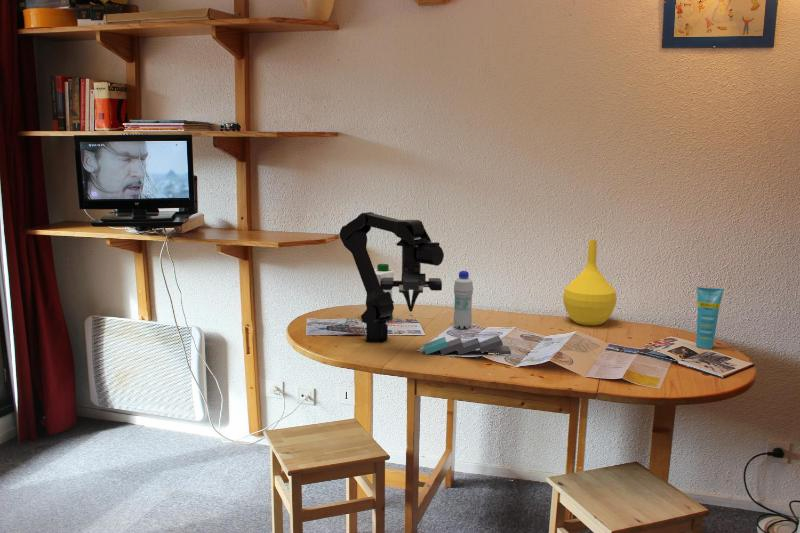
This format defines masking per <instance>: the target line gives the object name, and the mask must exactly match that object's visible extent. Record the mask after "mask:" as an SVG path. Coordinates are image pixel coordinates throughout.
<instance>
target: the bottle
mask: <svg viewBox="0 0 800 533" xmlns="http://www.w3.org/2000/svg"><path fill="white" fill-rule="evenodd" d="M469 275H470V274H469V271H467V270H461V271H459V272H458V278H455V280H454V284H453V294H454V312H453V325H454V327H455V328H456V329H459V328H460V329H461V330H463V329H464V328H465V329H466V330H467V329H469V328H471V327H472V323H473V320H472V319H473V315H472V307H473V306H472V303H473V302H472V300H473V299H472V298H473V294H474V286H473V279H470V278H469Z"/></svg>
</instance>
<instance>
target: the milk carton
mask: <svg viewBox="0 0 800 533" xmlns="http://www.w3.org/2000/svg"><path fill="white" fill-rule="evenodd" d="M389 265H390V264H387V263H378V264H377V268H374V270H375V273H376V276H377V278H378V281H379V284H380V281H381V279H382V278H394V275H395V271H394V270H391V269H389ZM383 291H384V292H390V294H391V298H392V299H393V288H392V289H391V290H383ZM366 310H367V308H366ZM366 310H365V311H366ZM392 319H393V320H394V317H393V313H392V314H391V317H390V321H393V320H392ZM386 321H387V322H389V320H386Z"/></svg>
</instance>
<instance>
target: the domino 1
mask: <svg viewBox="0 0 800 533" xmlns="http://www.w3.org/2000/svg"><path fill="white" fill-rule="evenodd" d="M447 342H448V341H447V340H446V337H445V336H443V337H440V338H437V339H435V340H431V341H429V342H426V343H424V344H423V346H422V347H423V351H424V353H425V356H427V355H429V354H433V353H434V352H438V351H440V349H443V348H446V347H448V346H447Z"/></svg>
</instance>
